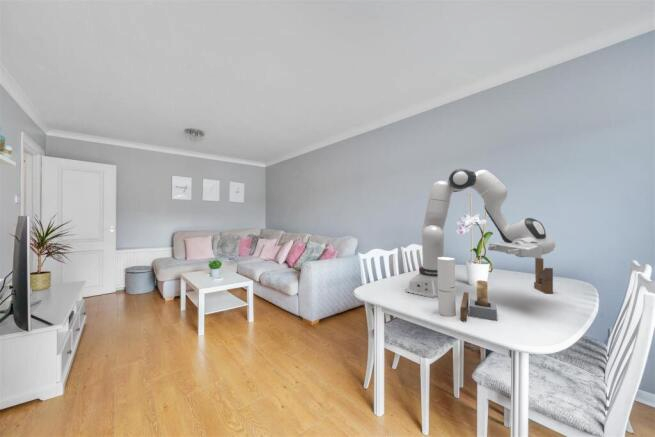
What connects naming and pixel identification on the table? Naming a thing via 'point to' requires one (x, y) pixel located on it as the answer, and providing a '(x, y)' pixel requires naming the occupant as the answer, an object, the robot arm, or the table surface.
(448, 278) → the cylindrical container
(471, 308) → the socket block
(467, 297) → the rail
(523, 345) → the table surface
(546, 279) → the wooden block
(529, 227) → the robot arm
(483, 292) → the brown wooden tall bar
